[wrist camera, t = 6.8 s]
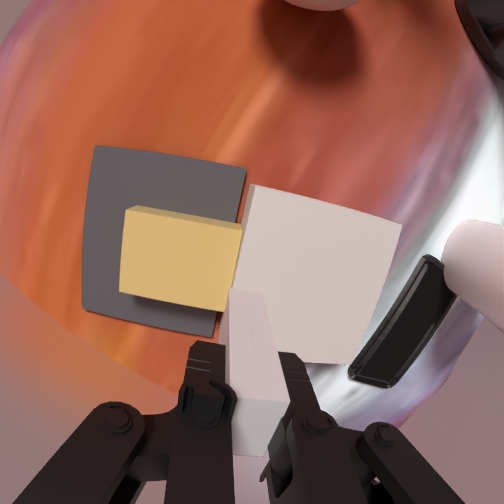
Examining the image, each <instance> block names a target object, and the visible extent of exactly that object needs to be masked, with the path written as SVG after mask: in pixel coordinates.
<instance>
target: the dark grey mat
mask: <svg viewBox="0 0 504 504" xmlns="http://www.w3.org/2000/svg"><path fill="white" fill-rule="evenodd" d="M246 170H247V169H244V168H240V167H235V166H230V165H225V164H220V163H215V162H210V161H204V160H199V159H193V158H187V157H181V156H175V155H169V154H163V153H156V152H149V151H141V150H134V149H126V148H117V147H108V146H98V145H95V148H94V153H93V158H92V164H91V170H90V176H89V183H88V191H87V199H86V208H85V218H84V231H83V248H82V309H85V310H89V311H93V312H96V313H100V314H104V315H107V316H111V317H115V318H119V319H123V320H128V321H132V322H136V323H140V324H145V325H149V326H154V327H159V328H163V329H168V330H173V331H179V332H184V333H189V334H195V335H200V336H206V337H212V334H213V328H214V323H215V318H216V313H217V311H215V310H209V309H204V308H198V307H192V306H187V305H182V304H176V303H171V302H166V301H161V300H156V299H151V298H146V297H142V296H137V295H132V294H128V293H123V292H119V281H120V263H121V250H122V239H123V229H124V220H125V212H126V209H129V208H131V207H134V206H136V205H138V206H144V207H150V208H155V209H161V210H167V211H172V212H178V213H184V214H189V215H195V216H200V217H205V218H211V219H216V220H221V221H227V222H232V223H235V220H236V215H237V211H238V206H239V201H240V197H241V192H242V188H243V183H244V179H245V174H246Z"/></svg>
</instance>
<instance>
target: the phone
mask: <svg viewBox="0 0 504 504" xmlns="http://www.w3.org/2000/svg"><path fill="white" fill-rule="evenodd" d="M444 266H445V265H444V264H443V263H441V262H440V261H439V260H438V259H437V258H435V257H433V256H431V255H429V254H426V255H424V256H423V257H422V258H421V259H420V260H419V262H418V264H417V266H416V268H415V269H414V271H413V273H412V275H411V276H410V278H409V280H408V281H407V283H406V285H405V286H404V288H403V290H402V291H401V293H400V295H399V296H398V298H397V299H396V301H395V303H394V304H393V306H392V307H391V309H390V310H389V312H388V313H387V315H386V316H385V318H384V319H383V321H382V322H381V324H380V325H379V327H378V328H377V330H376V331H375V332H374V334H373V335H372V337H371V338H370V339H369V341H368V342H367V344H366V345H365V346H364V348H363V349H362V350H361V352H360V353H359V354H358V356H357V357H356V358H355V360H354V361H353V362H352V364H351V365H350V366H349V368H348V373H349V375H350V377H351V378H352V379H353V380H356V381H359V382H363V383H367V384H370V385H374V386H378V387H382V388H386V389H388V388H391V387H393V386H394V385H395V384H396V383H397V382H398V381H399V380H400V379H401V377H402V376H403V375H404V374H405V373H406V371H407V370H408V369H409V367H410V366H411V365H412V364H413V362H414V361H415V360H416V358H417V357H418V356H419V354H420V353H421V351H422V350H423V349H424V347H425V346H426V344H427V343H428V342H429V340H430V339H431V337H432V336H433V334H434V333H435V331H436V330H437V328H438V327H439V325H440V324H441V322H442V321H443V319H444V317H445V316H446V314H447V313H448V311H449V309H450V308H451V306H452V304H453V303H454V301H455V299H456V298H457V295H456V294H455V293H453V292H452V291H451V290H450V289H449V288H448V287H447V285H446V282H445V279H444Z"/></svg>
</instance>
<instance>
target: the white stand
mask: <svg viewBox="0 0 504 504" xmlns="http://www.w3.org/2000/svg"><path fill="white" fill-rule="evenodd" d="M241 226H242V230H243V233H242V238H241V242H240V247H239V252H238V256H237V261H236V266H235V271H234V276H233V280H232V285H231V288H233V289H239V290H244V291H250V292H256V293H261V294H263V297H264V301H265V305H266V309H267V313H268V316H269V320H270V324H271V328H272V332H273V336H274V340H275V344H276V347H277V351H280V352H289V353H295V354H296V355H297V356H298V357H299V358H300V359H301V360H302V361H303V362H310V363H329V364H352V361H353V359H354V357H355V355H356V353H357V351H358V348H359V346H360V344H361V342H362V339H363V337H364V335H365V332H366V330H367V327H368V325H369V323H370V320H371V318H372V315H373V312H374V310H375V307H376V305H377V302H378V299H379V297H380V294H381V291H382V288H383V286H384V283H385V280H386V277H387V274H388V271H389V268H390V265H391V262H392V259H393V255H394V252H395V249H396V246H397V242H398V239H399V235H400V232H401V228H402V225H400V224H397V223H395V222H392V221H389V220H386V219H383V218H380V217H377V216H374V215H371V214H367V213H364V212H360V211H357V210H353V209H350V208H346V207H343V206H339V205H336V204H332V203H328V202H324V201H321V200H317V199H313V198H309V197H305V196H301V195H297V194H293V193H289V192H285V191H281V190H276V189H272V188H268V187H263V186H259V185H254V184H250V185H249V190H248V194H247V199H246V203H245V208H244V212H243V217H242V221H241ZM223 315H224V312H222V316H221V321H220V330H221V325H222V320H223ZM220 330H219V335H220Z"/></svg>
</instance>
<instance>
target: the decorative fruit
mask: <svg viewBox="0 0 504 504" xmlns="http://www.w3.org/2000/svg"><path fill="white" fill-rule="evenodd" d="M284 1H286V2H288V3H290V4H293V5H295V6H298V7H302V8H306V9H311V10H318V11H335V10H340V9H344V8H347V7H350V6H352V5H354V4H356V3H358V2H360V1H361V0H284Z"/></svg>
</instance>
